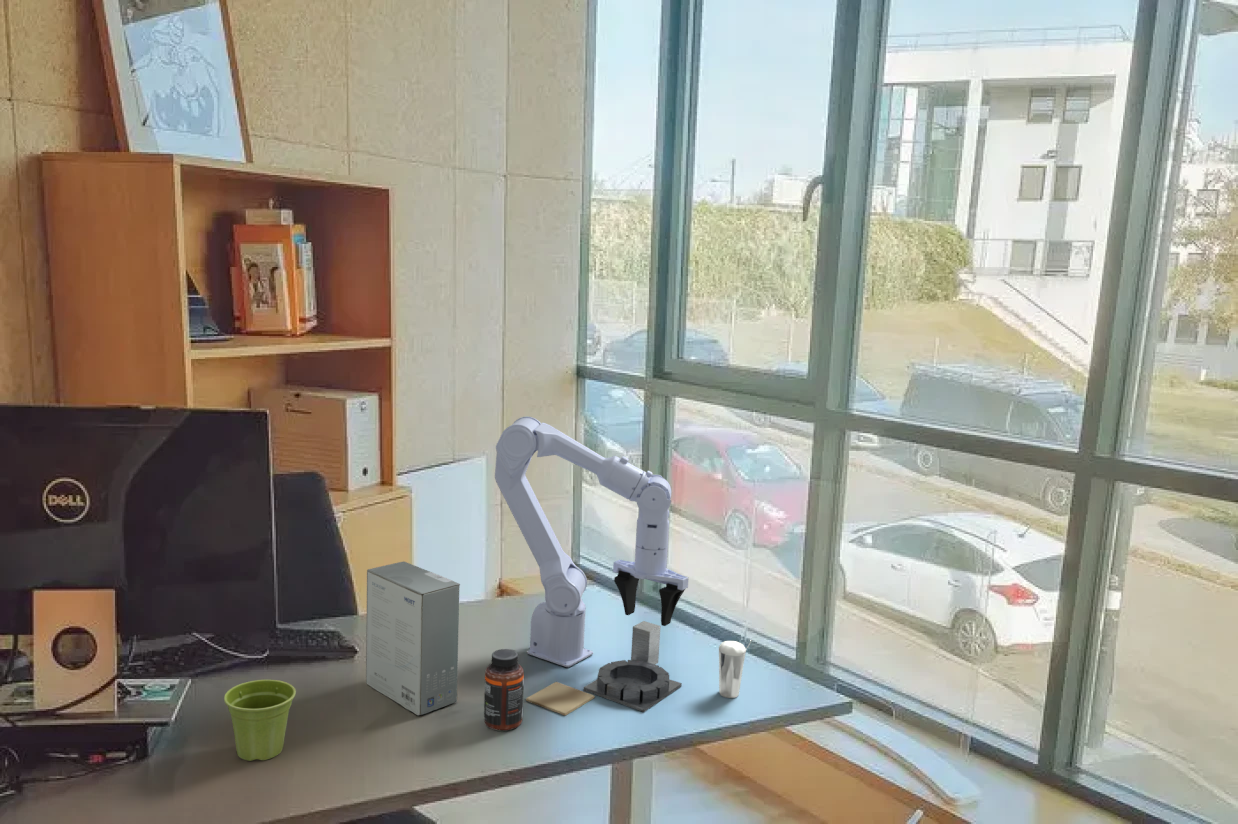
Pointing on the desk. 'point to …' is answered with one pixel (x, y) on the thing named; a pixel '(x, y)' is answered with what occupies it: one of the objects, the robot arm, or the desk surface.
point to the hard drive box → (412, 636)
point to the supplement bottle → (503, 691)
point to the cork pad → (560, 698)
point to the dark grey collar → (633, 684)
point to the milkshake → (730, 668)
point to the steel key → (645, 642)
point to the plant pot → (259, 717)
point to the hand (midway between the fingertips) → (647, 618)
